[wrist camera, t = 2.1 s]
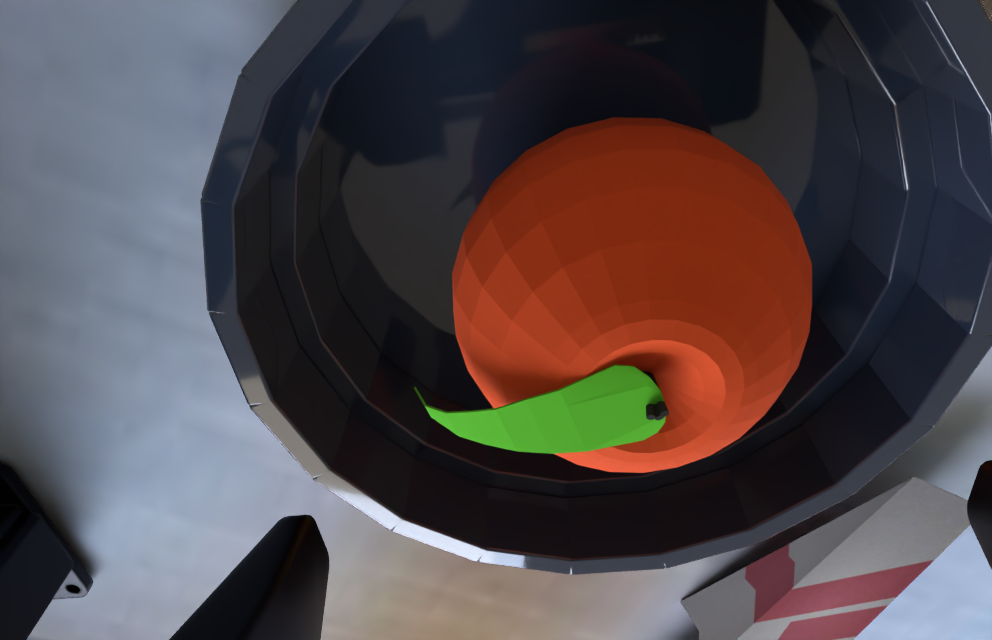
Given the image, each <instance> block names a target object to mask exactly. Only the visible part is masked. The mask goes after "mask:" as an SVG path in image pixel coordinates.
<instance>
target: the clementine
mask: <svg viewBox="0 0 992 640" xmlns="http://www.w3.org/2000/svg"><path fill="white" fill-rule="evenodd" d="M452 282H453V314H454V323H455V333H456V338H457V341H458V344H459V346H460V349H461V352H462V355H463V358H464V361H465V364H466V367H467V370H468V372H469V373H470V375H471V376H472V378H473V379H474V381H475V382H476V384H477V385H478V387H479V388H480V390H481V391H482V393H483V394H484V396H485V397H486V398H487V400H488V401H489V402H490V404H491V405H492V407H493V408H491V409H482V410H472V411H451V412H447V411H444V410H441V409H438V408H435V407H432V406H429V405H426V403H425V402H424V400H423V398H422V397H421V395H420V393H419V392H418V390H417V388H416V387H414V389H415V391H416V393H417V394H418V396H419V398H420V399H421V401H422V403H423V404H424V406H425V408H426V409H427V411H428V413H429V415H430V416H431V418H433V419H434V420H436V421H437V422H439V423H440V424H441V425H443V426H444V427H446V428H447V429H449V430H450V431H452V432H453V433H455V434H456V435H458V436H459V437H462V438H466V439H469V440H472V441H475V442H479V443H482V444H485V445H489V446H494V447H498V448H503V449H508V450H512V451H517V452H533V453H548V454H555V455H558V456H560V457H562V458H564V459H566V460H568V461H571V462H573V463H575V464H577V465H581V466H585V467H590V468H594V469H599V470H603V471H608V472H630V473H646V472H652V471H658V470H664V469H670V468H677V467H680V466H683V465H685V464H688V463H691V462H694V461H697V460H699V459H702V458H705V457H708V456H710V455H712V454H714V453H715V452H717V451H719V450H721V449H722V448H724V447H726V446H727V445H729V444H731V443H732V442H734V441H736V440H737V439H739V438H740V437H741V436H742V435H744V434H745V433H746V432H747V431H748V430H749V429H750V428H751V427H752V426H753V425H754V424H755V423H756V422H758V421H759V420H760V419H761V418H762V417H763V416H764V415H765V414H766V412H767V411H768V410H769V409H770V407H771V406H772V405H773V404H774V402H775V401H776V400H777V398H778V397H779V395H780V394H781V392H782V391H783V389H784V388H785V386H786V385H787V383H788V382H789V380H790V379H791V377H792V376H793V374H794V373H795V371H796V370H797V368H798V366H799V363H800V360H801V357H802V353H803V350H804V347H805V344H806V341H807V338H808V334H809V331H810V321H811V311H812V263H811V260H810V257H809V254H808V251H807V249H806V246H805V243H804V240H803V237H802V234H801V232H800V229H799V226H798V223H797V221H796V219H795V217H794V215H793V213H792V211H791V208H790V206H789V204H788V202H787V200H786V199H785V198H784V196H783V195H782V194H781V193H780V191H779V190H778V189H777V188H776V186H775V185H774V184H773V183H772V181H771V180H770V179H769V178H768V176H767V175H766V174H765V172H764V171H763V170H762V169H761V167H760V166H758V165H757V164H755V163H754V162H752V161H751V160H749V159H748V158H746V157H745V156H743V155H742V154H740V153H739V152H737V151H735V150H734V149H732V148H731V147H729V146H728V145H726V144H725V143H723V142H722V141H720V140H719V139H717V138H715V137H714V136H712V135H710V134H708V133H707V132H705V131H702V130H699V129H696V128H692V127H689V126H686V125H682V124H679V123H675V122H672V121H669V120H665V119H662V118H622V117H613V118H609V119H605V120H601V121H597V122H593V123H589V124H584V125H580V126H576V127H572V128H568V129H566V130H564V131H562V132H560V133H558V134H556V135H555V136H553V137H551V138H549V139H547V140H545V141H543V142H541V143H540V144H538V145H536V146H534V147H532V148H530V149H528V150H527V151H525V152H524V153H523V154H522V155H521V156H520V157H519V158H518V159H517V160H516V161H514V162H513V163H512V164H511V165H510V166H509V167H508V168H507V169H506V170H505V171H504V172H503V173H502V174H500V175H499V176H498V177H497V178H496V179H495V180H494V181H493V183H492V184H491V186H490V187H489V189H488V191H487V192H486V194H485V195H484V197H483V199H482V200H481V202H480V203H479V205H478V207H477V208H476V210H475V211H474V213H473V215H472V216H471V218H470V220H469V223H468V225H467V227H466V229H465V231H464V233H463V236H462V240H461V243H460V247H459V251H458V254H457V258H456V261H455V265H454V269H453V272H452Z"/></svg>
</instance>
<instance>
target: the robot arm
mask: <svg viewBox="0 0 992 640" xmlns="http://www.w3.org/2000/svg"><path fill="white" fill-rule="evenodd" d="M967 515H968V518H969V521H970V524H971V526H972V528H973V530H974V533H975V535H976V537H977V539H978V541H979V543H980V545H981V548H982V550H983V552H984V554H985V556H986V558H987V560H988V562H989V565H990V567H991V569H992V460H989V461H986V462H984V463H983V464H982V465H981V466H980V468H979V470H978V473H977V476H976V479H975V482H974V485H973V488H972V490H971V493H970V496H969V499H968V503H967ZM328 574H329V555H328V551H327V548H326V546H325V543H324V541H323V539H322V536H321V534H320V531H319V529H318V526H317V524H316V522H315V520H314V518H313V517H312V516H310V515H299V516H287V517H284V518H282V519H281V520H279V521H278V522H277V523H276V524H275V525H274V526H273V528H272V529H271V530H270V531H269V532H268V533H267V534H266V535H265V536H264V537H263V538H262V539H261V541H260V542H259V543H258V544H257V545H256V546H255V547H254V548H253V549H252V550H251V551H250V553H249V554H248V555H247V556H246V557H245V558H244V559H243V560H242V561H241V562H240V563H239V564H238V566H237V567H236V568H235V569H234V570H233V571H232V572H231V573H230V574H229V575H228V576H227V577H226V579H225V580H224V581H223V582H222V583H221V584H220V585H219V586H218V587H217V588H216V589H215V591H214V592H213V593H212V594H211V595H210V596H209V597H208V598H207V599H206V600H205V601H204V602H203V604H202V605H201V606H200V607H199V608H198V609H197V610H196V611H195V612H194V613H193V614H192V615H191V617H190V618H189V619H188V620H187V621H186V622H185V623H184V624H183V625H182V626H181V627H180V629H179V630H178V631H177V632H176V633H175V634H174V635H173V636H172V637H171V638H170V639H169V640H320V639H321V630H322V622H323V614H324V606H325V598H326V590H327V582H328ZM92 585H93V580H92V578H91V577H90V575H89V574H88V572H87V571H86V570H85V568H84V567H83V566H82V564H81V563H80V561H79V560H78V559H77V557H76V556H75V555H74V553H73V552H72V550H71V549H70V548H69V546H68V545H67V544H66V542H65V541H64V539H63V538H62V537H61V535H60V534H59V533H58V531H57V530H56V528H55V527H54V526H53V524H52V523H51V522H50V520H49V519H48V517H47V516H46V515H45V513H44V512H43V511H42V509H41V508H40V506H39V505H38V504H37V502H36V501H35V500H34V498H33V497H32V495H31V494H30V493H29V491H28V490H27V488H26V487H25V486H24V484H23V483H22V482H21V480H20V479H19V477H18V476H17V475H16V473H15V472H14V471H13V470H12V469H11V468H10V467H9V466H7V465H5V464H3V463H0V640H26V639H27V638H28V636H29V635H30V633H31V632H32V630H33V628H34V627H35V625H36V624H37V622H38V621H39V619H40V618H41V616H42V615H43V613H44V611H45V610H46V608H47V607H48V605H49V604H50V602H51V601H52V599H65V598H79V597H84V596H85V595H87V593H88V592H89V590H90V588H91V587H92Z"/></svg>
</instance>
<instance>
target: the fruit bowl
mask: <svg viewBox="0 0 992 640" xmlns="http://www.w3.org/2000/svg"><path fill="white" fill-rule="evenodd" d="M613 117H622V118H662V119H665V120H669V121H672V122H675V123H679V124H682V125H686V126H689V127H692V128H696V129H699V130H702V131H705V132H707V133H708V134H710V135H712V136H714V137H715V138H717V139H719V140H720V141H722V142H723V143H725V144H726V145H728V146H729V147H731V148H732V149H734V150H735V151H737V152H739V153H740V154H742V155H743V156H745V157H746V158H748V159H749V160H751V161H752V162H754V163H755V164H757V165H758V166H760V167H761V169H762V170H763V171H764V172H765V174H766V175H767V176H768V178H769V179H770V180H771V181H772V183H773V184H774V185H775V186H776V188H777V189H778V190H779V191H780V193H781V194H782V195H783V196H784V198H785V199H786V200H787V202H788V204H789V206H790V208H791V211H792V213H793V215H794V217H795V219H796V221H797V223H798V226H799V229H800V232H801V234H802V237H803V240H804V243H805V246H806V249H807V251H808V254H809V257H810V260H811V263H812V311H811V321H810V331H809V334H808V338H807V341H806V344H805V347H804V350H803V353H802V357H801V360H800V363H799V366H798V368H797V370H796V371H795V373H794V374H793V376H792V377H791V379H790V380H789V382H788V383H787V385H786V386H785V388H784V389H783V391H782V392H781V394H780V395H779V397H778V398H777V400H776V401H775V402H774V404H773V405H772V406H771V407H770V409H769V410H768V411H767V412H766V414H765V415H764V416H763V417H762V418H761V419H760V420H759V421H758V422H756V423H755V424H754V425H753V426H752V427H751V428H750V429H749V430H748V431H747V432H746V433H745V434H744V435H742V436H741V437H740V438H739V439H737V440H736V441H734V442H732V443H731V444H729V445H727V446H726V447H724V448H722V449H721V450H719V451H717V452H715V453H714V454H712V455H710V456H708V457H705V458H702V459H699V460H697V461H694V462H691V463H688V464H685V465H683V466H680V467H677V468H670V469H664V470H658V471H652V472H646V473H630V472H608V471H603V470H599V469H594V468H590V467H585V466H581V465H577V464H575V463H573V462H571V461H568V460H566V459H564V458H562V457H560V456H558V455H555V454H548V453H533V452H517V451H512V450H508V449H503V448H498V447H494V446H489V445H485V444H482V443H479V442H475V441H472V440H469V439H466V438H462V437H459V436H458V435H456V434H455V433H453V432H452V431H450V430H449V429H447V428H446V427H444V426H443V425H441V424H440V423H439V422H437V421H436V420H434V419H433V418H431V416H430V415H429V413H428V411H427V409H426V408H425V406H424V404H423V403H422V401H421V399H420V398H419V396H418V394H417V393H416V391H415V389H414V387H416V388H417V390H418V392H419V393H420V395H421V397H422V398H423V400H424V402H425V403H426V405H429V406H432V407H435V408H438V409H441V410H444V411H447V412H451V411H472V410H482V409H491V408H493V407H492V405H491V404H490V402H489V401H488V400H487V398H486V397H485V396H484V394H483V393H482V391H481V390H480V388H479V387H478V385H477V384H476V382H475V381H474V379H473V378H472V376H471V375H470V373H469V372H468V370H467V367H466V364H465V361H464V358H463V355H462V352H461V349H460V346H459V344H458V341H457V338H456V333H455V323H454V314H453V282H452V272H453V269H454V265H455V261H456V258H457V254H458V251H459V247H460V243H461V240H462V236H463V233H464V231H465V229H466V227H467V225H468V223H469V220H470V218H471V216H472V215H473V213H474V211H475V210H476V208H477V207H478V205H479V203H480V202H481V200H482V199H483V197H484V195H485V194H486V192H487V191H488V189H489V187H490V186H491V184H492V183H493V181H494V180H495V179H496V178H497V177H498V176H499V175H500V174H502V173H503V172H504V171H505V170H506V169H507V168H508V167H509V166H510V165H511V164H512V163H513V162H514V161H516V160H517V159H518V158H519V157H520V156H521V155H522V154H523V153H524V152H525V151H527V150H528V149H530V148H532V147H534V146H536V145H538V144H540V143H541V142H543V141H545V140H547V139H549V138H551V137H553V136H555V135H556V134H558V133H560V132H562V131H564V130H566V129H568V128H572V127H576V126H580V125H584V124H589V123H593V122H597V121H601V120H605V119H609V118H613ZM200 201H201V216H202V232H203V247H204V263H205V278H206V294H207V310H208V311H209V315H210V317H211V320H212V322H213V324H214V327H215V329H216V331H217V334H218V336H219V338H220V340H221V343H222V345H223V347H224V350H225V352H226V354H227V357H228V359H229V361H230V363H231V366H232V368H233V370H234V373H235V375H236V377H237V380H238V382H239V384H240V387H241V389H242V391H243V393H244V396H245V398H246V400H247V403H248V404H249V405H250V408H251V409H252V411H253V412H254V413H255V414H256V415H257V416H258V418H259V419H260V420H261V421H262V422H263V423H264V424H265V426H266V427H267V428H268V429H269V430H270V431H271V432H272V434H273V435H274V436H275V437H276V438H277V439H278V440H279V442H280V443H281V444H282V445H283V446H284V447H285V448H286V450H287V451H288V452H289V453H290V454H291V455H292V456H293V458H294V459H295V460H296V461H297V462H298V463H299V464H300V466H301V467H302V468H303V469H304V470H305V471H306V472H307V474H308V475H309V476H310V477H311V478H313V480H314V481H316V482H317V483H319V484H320V485H322V486H323V487H325V488H326V489H328V490H329V491H331V492H332V493H334V494H335V495H337V496H338V497H340V498H341V499H343V500H344V501H346V502H347V503H349V504H350V505H352V506H353V507H355V508H357V509H358V510H360V511H361V512H363V513H364V514H366V515H367V516H369V517H370V518H372V519H373V520H375V521H376V522H378V523H379V524H381V525H382V526H384V527H385V528H387V529H388V530H391V531H392V532H395V533H397V534H400V535H403V536H406V537H408V538H411V539H414V540H417V541H419V542H422V543H425V544H428V545H431V546H433V547H436V548H439V549H442V550H444V551H447V552H450V553H453V554H455V555H458V556H461V557H464V558H466V559H469V560H472V561H475V562H478V561H479V562H480V563H487V564H495V565H502V566H510V567H517V568H525V569H532V570H539V571H547V572H554V573H562V574H571V575H577V574H592V573H607V572H622V571H637V570H651V569H664V568H670V567H673V566H677V565H681V564H684V563H688V562H692V561H695V560H699V559H703V558H706V557H710V556H714V555H717V554H721V553H725V552H728V551H732V550H736V549H739V548H743V547H747V546H751V545H754V544H758V543H760V541H764V540H766V539H768V538H770V537H772V536H774V535H776V534H778V533H780V532H782V531H784V530H786V529H788V528H790V527H792V526H794V525H796V524H798V523H800V522H802V521H804V520H806V519H807V518H809V517H811V516H813V515H815V514H817V513H819V512H821V511H823V510H825V509H827V508H829V507H831V506H833V505H835V504H837V503H839V502H841V501H843V500H845V499H847V498H849V497H850V495H854V494H855V493H856V492H858V491H859V490H860V489H861V488H862V487H864V486H865V485H866V484H867V483H868V482H870V481H871V480H872V479H873V478H874V477H876V476H877V475H878V474H879V473H880V472H882V471H883V470H884V469H885V468H886V467H888V466H889V465H890V464H891V463H892V462H894V461H895V460H896V459H897V458H898V457H900V456H901V455H902V454H903V453H904V452H906V451H907V450H908V449H909V448H910V447H912V446H913V445H914V444H915V443H916V442H918V441H919V440H920V439H921V438H922V437H924V436H925V435H926V434H927V433H928V432H930V431H931V430H932V429H933V426H935V425H936V424H937V423H938V421H939V420H940V418H941V417H942V416H943V414H944V413H945V411H946V410H947V409H948V407H949V406H950V404H951V403H952V402H953V400H954V399H955V397H956V396H957V395H958V393H959V392H960V390H961V389H962V387H963V386H964V385H965V383H966V382H967V380H968V379H969V378H970V376H971V375H972V373H973V372H974V371H975V369H976V368H977V366H978V365H979V364H980V362H981V361H982V359H983V358H984V357H985V355H986V354H987V352H988V351H989V350H990V348H991V347H992V23H991V21H990V20H989V18H988V16H987V14H986V12H985V10H984V8H983V6H982V4H981V3H980V1H979V0H297V1H296V2H295V3H294V5H293V6H292V7H291V8H290V10H289V11H288V12H287V13H286V15H285V16H284V17H283V18H282V20H281V21H280V22H279V23H278V25H277V26H276V27H275V28H274V30H273V31H272V32H271V33H270V35H269V36H268V37H267V38H266V40H265V41H264V42H263V43H262V45H261V46H260V47H259V48H258V50H257V51H256V52H255V53H254V55H253V56H252V57H251V58H250V60H249V61H248V62H247V63H246V65H245V66H244V67H243V68H242V71H241V74H240V75H239V76H238V79H237V83H236V86H235V89H234V92H233V95H232V98H231V102H230V105H229V108H228V111H227V114H226V118H225V121H224V124H223V127H222V130H221V134H220V137H219V140H218V143H217V146H216V150H215V153H214V156H213V159H212V162H211V165H210V169H209V172H208V175H207V178H206V181H205V185H204V188H203V191H202V198H201V200H200Z"/></svg>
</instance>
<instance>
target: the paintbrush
mask: <svg viewBox="0 0 992 640" xmlns="http://www.w3.org/2000/svg"><path fill="white" fill-rule="evenodd" d="M967 503H968V500H965V499H963V498H961V497H959V496H957V495H954V494H952V493H950V492H948V491H945V490H943V489H941V488H939V487H936V486H934V485H932V484H930V483H928V482H925V481H923V480H921V479H919V478H916V477H913V478H911V479H909V480H907V481H905V482H903V483H901V484H899V485H898V486H896V487H894V488H892V489H890V490H888V491H886V492H884V493H883V494H881V495H879V496H877V497H875V498H873V499H871V500H870V501H868V502H866V503H864V504H862V505H860V506H858V507H856V508H855V509H853V510H851V511H849V512H847V513H845V514H843V515H841V516H840V517H838V518H836V519H834V520H832V521H830V522H828V523H827V524H825V525H823V526H821V527H819V528H817V529H815V530H813V531H812V532H810V533H808V534H806V535H804V536H802V537H800V538H798V539H797V540H795V541H793V542H791V543H789V544H787V545H785V546H784V547H782V548H780V549H778V550H776V551H774V552H772V553H770V554H769V555H767V556H765V557H763V558H761V559H759V560H757V561H755V562H754V563H752V564H750V565H748V566H746V567H744V568H742V569H741V570H739V571H737V572H735V573H733V574H731V575H729V576H727V577H726V578H724V579H722V580H720V581H718V582H716V583H714V584H713V585H711V586H709V587H707V588H705V589H703V590H701V591H699V592H698V593H696V594H694V595H692V596H690V597H688V598H686V599H684V600H683V601H681V604H682V605H683V607H684V608H685V610H686V611H687V613H688V615H689V616H690V618H691V619H692V621H693V622H694V624H695V625H696V627H697V628H698V630H699V640H853V639H854V638H855V637H856V636H857V635H858V634H859V633H860V632H861V631H862V630H863V629H864V628H866V627H867V626H868V625H869V624H870V623H871V622H872V621H873V620H874V619H875V618H876V617H877V616H878V615H879V614H880V613H881V612H882V611H883V610H884V609H885V608H886V607H887V606H888V605H889V604H890V603H891V602H892V601H893V600H894V599H895V598H896V597H897V596H898V595H899V594H900V593H901V592H902V591H903V590H904V589H905V588H906V587H907V586H908V585H909V584H910V583H911V582H912V581H913V580H914V579H915V578H916V577H917V576H918V575H919V574H920V573H921V572H923V571H924V570H925V569H926V568H927V567H928V566H929V565H930V564H931V563H932V562H933V561H934V560H935V559H936V558H937V557H938V556H939V555H940V554H941V553H942V552H943V551H944V550H945V549H946V548H947V547H948V546H949V545H950V544H951V543H952V542H953V541H954V540H955V539H956V538H957V537H958V536H959V535H960V534H961V533H962V532H963V531H964V530H965V529H966V528H967V527H968V526H969V525H970V521H969V518H968V515H967Z"/></svg>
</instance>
